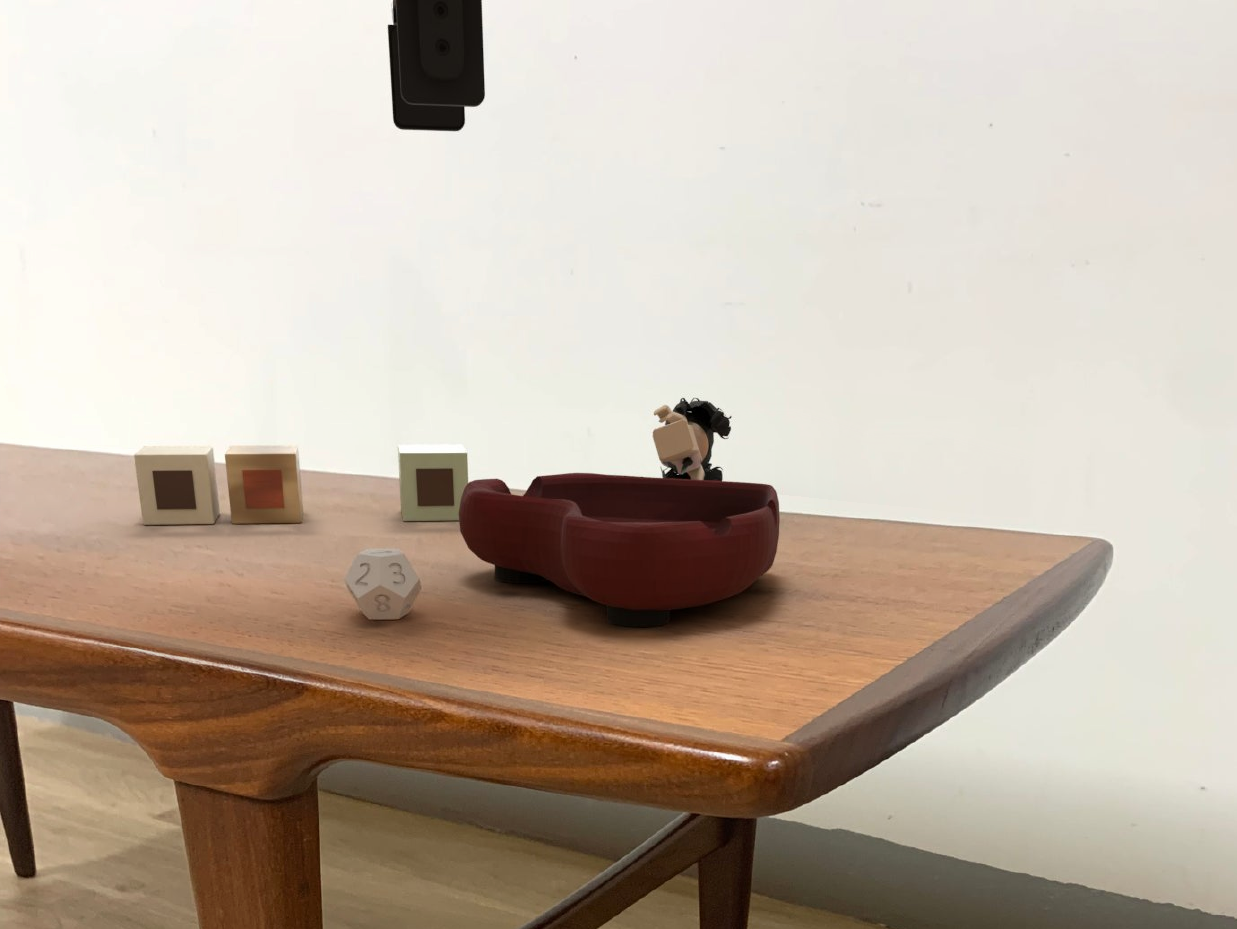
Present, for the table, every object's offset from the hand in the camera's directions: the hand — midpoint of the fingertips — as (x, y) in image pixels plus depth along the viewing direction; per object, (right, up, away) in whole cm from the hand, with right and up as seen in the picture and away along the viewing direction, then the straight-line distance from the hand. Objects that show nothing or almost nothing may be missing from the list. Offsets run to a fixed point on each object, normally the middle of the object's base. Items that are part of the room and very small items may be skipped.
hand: (435, 118), depth 56 cm
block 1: (-22, -9, +32) cm, 40 cm away
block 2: (-16, -8, +33) cm, 38 cm away
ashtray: (+9, -17, +15) cm, 24 cm away
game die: (-4, -20, +8) cm, 22 cm away
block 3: (-6, -8, +35) cm, 36 cm away
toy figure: (+10, -2, +41) cm, 42 cm away
